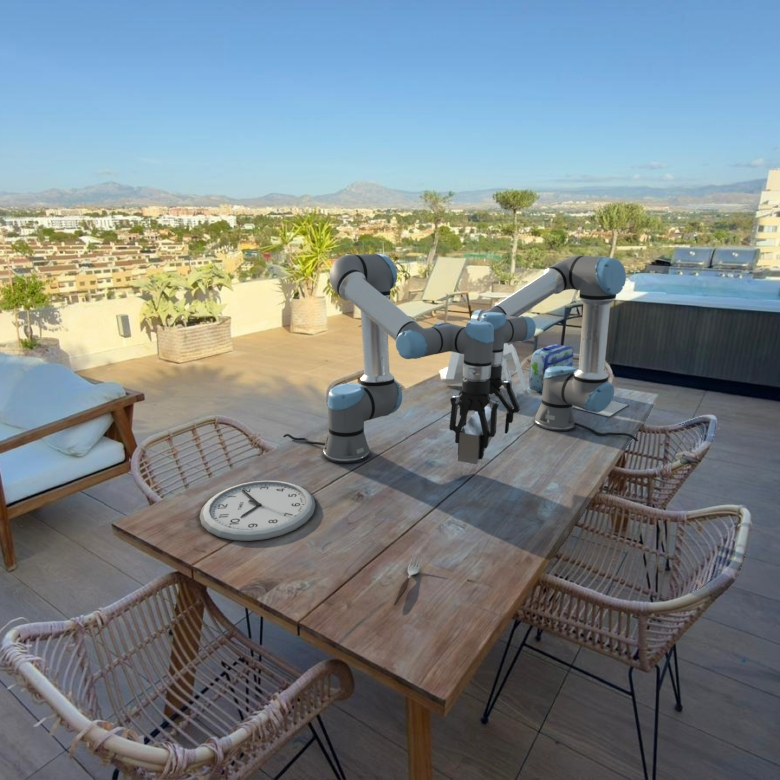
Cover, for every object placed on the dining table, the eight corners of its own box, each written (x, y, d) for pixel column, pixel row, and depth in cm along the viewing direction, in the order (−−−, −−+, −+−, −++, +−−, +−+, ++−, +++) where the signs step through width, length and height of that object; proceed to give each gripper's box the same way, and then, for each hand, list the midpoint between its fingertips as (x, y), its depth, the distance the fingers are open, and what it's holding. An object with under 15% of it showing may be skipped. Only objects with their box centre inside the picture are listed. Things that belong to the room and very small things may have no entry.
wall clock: (312, 532, 127) (184, 536, 124) (312, 538, 127) (185, 542, 125) (317, 476, 155) (214, 478, 153) (318, 481, 156) (214, 483, 153)
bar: (477, 430, 171) (479, 405, 168) (494, 433, 169) (496, 407, 166) (457, 460, 148) (459, 432, 146) (477, 464, 146) (479, 435, 144)
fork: (388, 605, 105) (388, 597, 104) (412, 560, 119) (412, 553, 119) (400, 609, 104) (400, 600, 104) (423, 563, 119) (423, 555, 118)
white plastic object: (461, 429, 252) (437, 405, 227) (444, 352, 274) (420, 323, 250) (535, 404, 240) (518, 377, 215) (510, 326, 262) (492, 293, 237)
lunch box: (545, 397, 238) (550, 352, 231) (524, 391, 245) (529, 348, 239) (572, 386, 255) (578, 344, 249) (552, 381, 262) (557, 340, 256)
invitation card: (608, 416, 214) (573, 407, 224) (608, 416, 214) (573, 408, 224) (628, 404, 229) (594, 396, 238) (628, 405, 229) (594, 397, 238)
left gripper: (440, 377, 143) (435, 454, 150) (508, 386, 137) (500, 466, 144) (447, 371, 150) (443, 445, 157) (512, 379, 144) (505, 456, 151)
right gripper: (446, 362, 160) (443, 426, 167) (529, 371, 152) (523, 439, 158) (453, 357, 167) (450, 419, 173) (533, 365, 158) (526, 430, 165)
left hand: (470, 455), depth 151 cm, fingers closed on bar, 6 cm apart
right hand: (485, 428), depth 166 cm, fingers open, 13 cm apart
